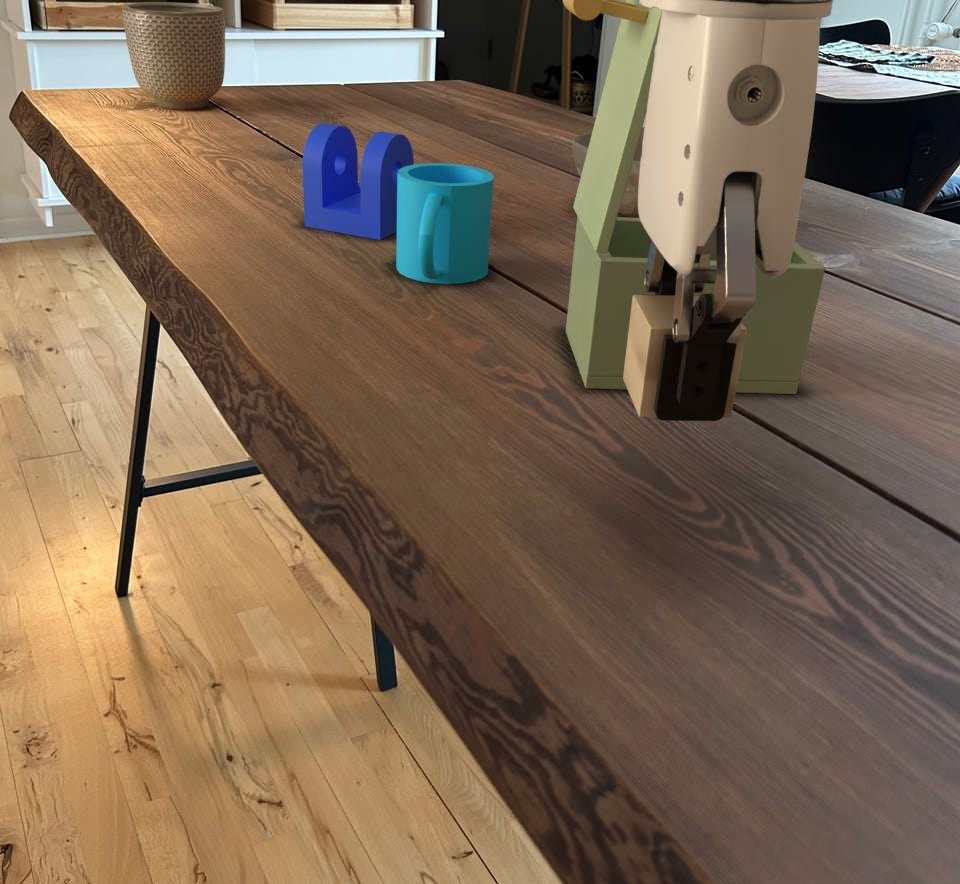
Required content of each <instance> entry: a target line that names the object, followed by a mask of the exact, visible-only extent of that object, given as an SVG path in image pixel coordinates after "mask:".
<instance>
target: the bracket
mask: <svg viewBox="0 0 960 884" xmlns="http://www.w3.org/2000/svg"><path fill="white" fill-rule="evenodd" d="M358 156H359V154H358V147H357V142H356V138H355V136H354V134H353V132H352V131H351V130H350V128H348V127H347V126H345V125H339V124H333V123H332V124H331V123H325V122H323V123H319V124H317V125H316V126H315V127H313V128H312V130H311V131H310V133H309V134H308V136H307V138H306V141H305V144H304V147H303V153H302V162H301V163H302V164H301V165H302V191H303V192H302V195H303V219H304V220H303V221H304V227H306V228H311V229H317V230H323V231H327V232H333V233H339V234H345V235H351V236H357V237H361V238H366V239H373V240H378V241H381V240H383V239H385V238H387V237H389V236H391V235H393V234H395V233H397V173H398V170H399V169H401V168H403V167H405V166H410V165H415V159H414V158H415V157H414V152H413V147H412V145H411V141H410V140H409V138H408V137H407V136H406V135H404V134H401V133H396V132H395V133H394V132H388V131H377V132H375V133H373V135H371V137H370V138H369V139H368V142H367V143H366V145H365V148H364V151H363V154H362V158H361V164H360V176H359V157H358ZM359 177H360V181H359Z"/></svg>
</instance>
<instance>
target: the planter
mask: <svg viewBox="0 0 960 884" xmlns="http://www.w3.org/2000/svg"><path fill="white" fill-rule="evenodd" d="M121 16H122V22H123V23H122V24H123V28H124V34H125V38H126V45H127V50H128V51H127V52H128V55H129V58H130V59H129V60H130V64H131V68H132V72H133V75H134V78H135V80H136V82H137V85H138V87H140V89H141V90H142V91H143V92H144V93H146V94H147V95H148V96H150V97H151V98H153V99H154V101H155V103H156V105H157V106H158V107H160V108H163V109H168V110H176V111H178V110H179V111H181V110H182V111H184V110H185V111H186V110H187V111H188V110H199V109H204V108H205V107H207V106H208V105H209V101H210V99H211V98H212V97H213V96H215V95H216V94H217V93H218V92H219V91H220V90H221V88H222V87H223V84H224V78H225V69H226V15H225V10H224V9H223V8H222V7H220V6H216V5H210V4H202V3H191V2H190V3H189V2H167V1H165V2H164V1H156V2H155V1H153V2H151V1H149V2H148V1H147V2H130V3H125V4H123V5H122V6H121Z"/></svg>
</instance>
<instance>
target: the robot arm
mask: <svg viewBox="0 0 960 884" xmlns="http://www.w3.org/2000/svg"><path fill="white" fill-rule="evenodd" d="M639 4H641V5H642V6H645V7H649V8H657V9H659V10H662V15H661V21H660V27H659V33H658V39H657V44H656V46H655V49H654V52H655V57H654V64H653V70H652V77H651V84H650V91H649V98H648V105H647V112H646V116H645V119H644V127H645V128H644V136H643V144H642V153H641V162H640V173H639V187H638V212H639V217H640V220H641V223H642V225H643V226H644V228H645V230H646V231H647V233H648V235H649V236H650V238H651V239H650V249H649V255H648V260H647V266H646V271H645V277H644V288H645V292H646V293H655V295H668V296H675V303H674V315H673V327H672V335H664V339H663V346H662V353H661V360H660V368H659V375H658V382H657V389H656V397H655V404H654V412H655V414H656V416H657V417H656V418H657V419H658V420H659V421H663V422H664V421H665V422H668V421H669V422H719V421H720V420H722V419H723V418H722V417H723V416H724V413H725V408H726V402H727V397H728V391H729V385H730V380H731V374H732V369H733V363H734V357H735V352H736V346H737V343H738V341H739V339H740V335H741V326H742V318H743V316H745V315H746V313H747V312H748V311H750V310H751V309H752V308H753V306H754V304H755V300H756V266H757V267H758V268H759V269H760V270H761V271H762V272H763V273H764V274H765V275H766V276H768V277H771V278H773V277H779V276H781V275H782V274H783V273H784V272H785V271H786V270H787V269H788V267H789V266H790V263H791V258H792V253H793V248H794V242H796V235H797V229H798V222H799V217H800V210H801V204H802V198H803V192H804V184H805V177H806V170H807V164H808V156H809V150H810V144H811V137H812V129H813V120H814V113H815V112H814V111H815V105H816V104H815V103H816V94H817V83H818V71H819V57H820V54H819V53H820V33H821V32H820V31H821V29H820V28H821V20H820V19H822V18H827V17H830V16H831V14H832V8H833V4H834V0H639ZM711 255H717V267H709V263H710V259H711ZM705 284H715V285H714V287H713V288H712V292H711V293H710V294H701V293H702V291H703V289H704V285H705ZM694 293H697V294H701V295H700V297H699V299H698V300H697V301H696V303H695V305H694V307H693V299H694Z"/></svg>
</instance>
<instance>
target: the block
mask: <svg viewBox="0 0 960 884" xmlns="http://www.w3.org/2000/svg"><path fill="white" fill-rule="evenodd" d="M699 297H700V296H694V299H693V307H694V305H695V303H696V301H697V300H698V299H699ZM674 303H675V296H668V295H633V298H632V306H631V315H630V323H629V332H628V340H627V348H626V357H625V365H624V374H623V380H624V382H625V385H626V387H627V389H626V390H627V391H628V394H629V397H630V399H631V401H632V404H633V406H634V409H635V411H636V414H637V415H638V417H639V418H657V416H656V414H655V412H654V404H655V397H656V389H657V382H658V375H659V368H660V360H661V353H662V346H663V339H664V335H672V327H673V315H674ZM746 333H747V329H746V328H745V326H744V325H743V324H742V326H741V335H740V339H739V341H738V343H737V346H736V352H735V357H734V363H733V369H732V374H731V380H730V385H729V391H728V397H727V402H726V408H725V413H724V416H723V417H722V418H721V419H731V418H732V414H733V409H734V403H735V398H736V387H737V382H738V376H739V371H740V365H741V360H742V354H743V349H744V344H745V338H746Z"/></svg>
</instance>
